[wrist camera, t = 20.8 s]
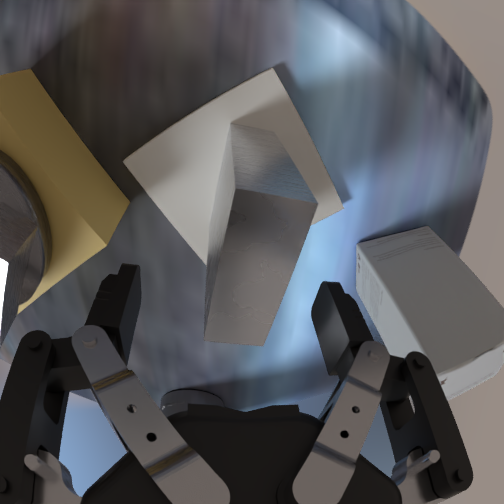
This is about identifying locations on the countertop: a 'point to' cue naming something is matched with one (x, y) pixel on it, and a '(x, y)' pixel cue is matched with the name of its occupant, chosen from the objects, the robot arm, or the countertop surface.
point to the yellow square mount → (58, 175)
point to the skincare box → (431, 307)
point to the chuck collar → (20, 241)
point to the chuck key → (253, 236)
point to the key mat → (211, 153)
